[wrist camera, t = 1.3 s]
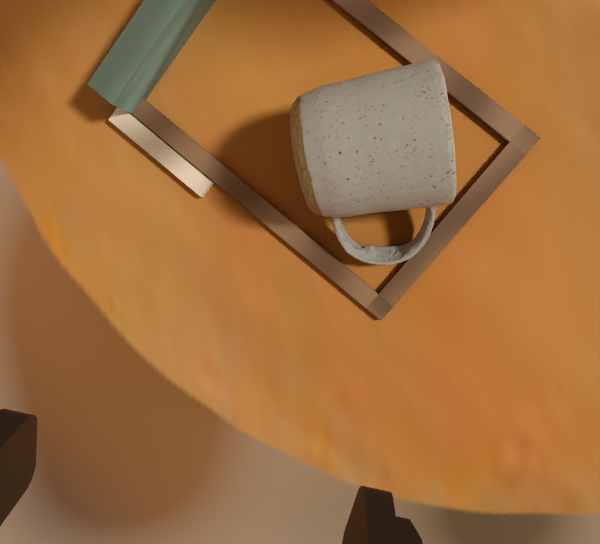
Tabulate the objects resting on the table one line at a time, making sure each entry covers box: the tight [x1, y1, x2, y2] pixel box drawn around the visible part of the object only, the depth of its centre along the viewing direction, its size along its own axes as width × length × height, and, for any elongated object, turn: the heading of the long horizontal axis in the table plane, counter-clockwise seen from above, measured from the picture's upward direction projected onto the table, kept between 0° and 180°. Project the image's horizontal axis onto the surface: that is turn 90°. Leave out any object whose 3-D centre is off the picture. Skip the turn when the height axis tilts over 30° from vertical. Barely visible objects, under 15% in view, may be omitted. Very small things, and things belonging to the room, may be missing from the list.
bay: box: [87, 0, 540, 321], centre depth 31 cm, size 23×17×3 cm
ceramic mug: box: [290, 59, 456, 265], centre depth 29 cm, size 11×8×8 cm
